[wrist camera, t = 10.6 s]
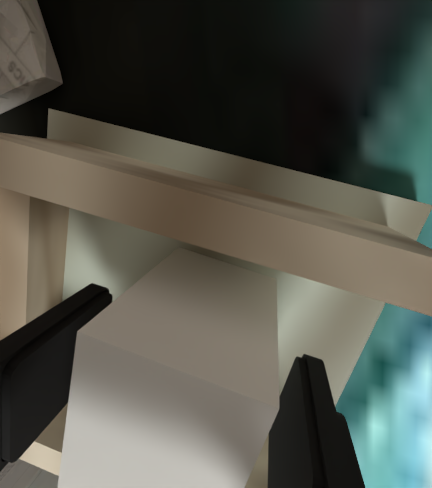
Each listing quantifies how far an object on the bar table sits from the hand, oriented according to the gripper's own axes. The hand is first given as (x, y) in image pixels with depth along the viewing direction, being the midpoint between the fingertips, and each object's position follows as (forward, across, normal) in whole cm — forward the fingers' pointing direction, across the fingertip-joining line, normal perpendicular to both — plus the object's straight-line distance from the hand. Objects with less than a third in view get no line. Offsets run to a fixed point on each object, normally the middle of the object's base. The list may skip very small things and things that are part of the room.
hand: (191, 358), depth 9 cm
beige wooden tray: (+4, +1, 0) cm, 4 cm away
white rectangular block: (+3, 0, 0) cm, 3 cm away
